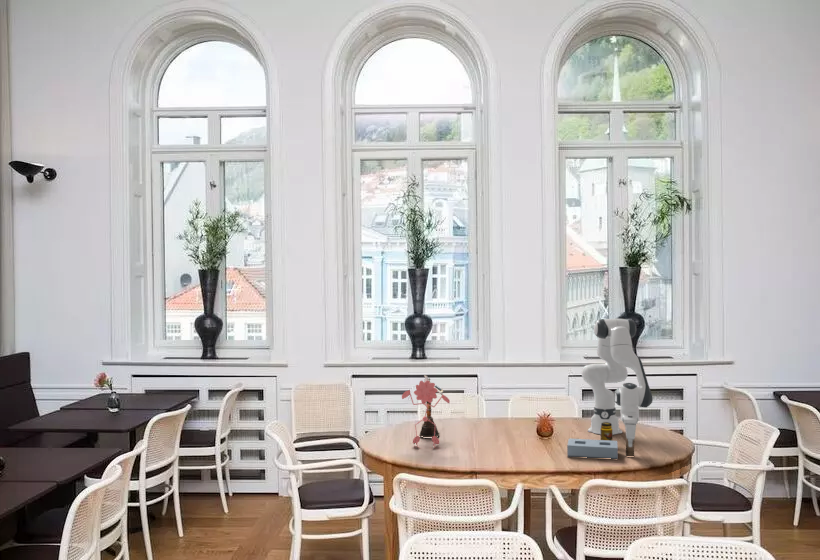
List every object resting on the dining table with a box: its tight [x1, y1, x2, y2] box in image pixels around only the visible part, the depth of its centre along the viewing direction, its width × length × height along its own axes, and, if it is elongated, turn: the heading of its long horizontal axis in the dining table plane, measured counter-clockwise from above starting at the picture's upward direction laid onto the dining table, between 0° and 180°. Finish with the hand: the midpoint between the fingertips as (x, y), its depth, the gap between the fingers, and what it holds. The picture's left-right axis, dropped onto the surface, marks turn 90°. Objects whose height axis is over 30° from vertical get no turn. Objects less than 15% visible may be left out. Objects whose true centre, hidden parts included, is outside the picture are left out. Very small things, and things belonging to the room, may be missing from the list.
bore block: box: [566, 438, 619, 460], centre depth 356 cm, size 14×24×6 cm, turn 75°
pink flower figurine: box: [401, 380, 451, 447], centre depth 380 cm, size 15×26×35 cm, turn 83°
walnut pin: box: [625, 436, 635, 457], centre depth 353 cm, size 4×4×14 cm
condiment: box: [600, 422, 614, 441], centre depth 374 cm, size 7×8×12 cm
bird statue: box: [418, 374, 444, 437], centre depth 399 cm, size 17×13×35 cm
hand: (629, 444), depth 353 cm, fingers open, 8 cm apart
